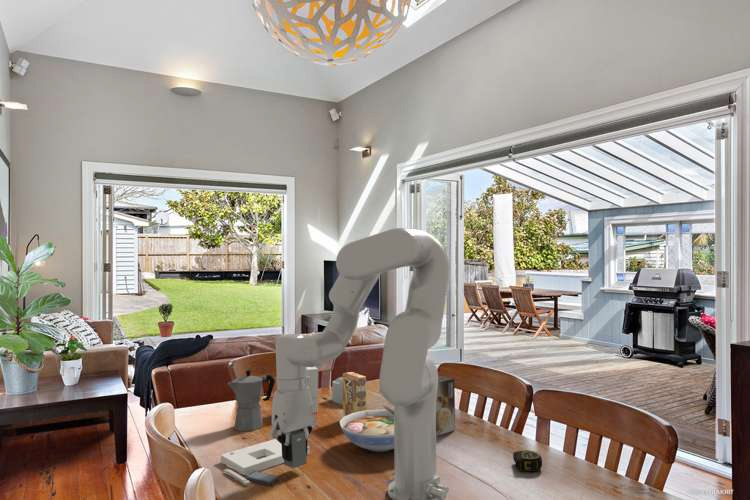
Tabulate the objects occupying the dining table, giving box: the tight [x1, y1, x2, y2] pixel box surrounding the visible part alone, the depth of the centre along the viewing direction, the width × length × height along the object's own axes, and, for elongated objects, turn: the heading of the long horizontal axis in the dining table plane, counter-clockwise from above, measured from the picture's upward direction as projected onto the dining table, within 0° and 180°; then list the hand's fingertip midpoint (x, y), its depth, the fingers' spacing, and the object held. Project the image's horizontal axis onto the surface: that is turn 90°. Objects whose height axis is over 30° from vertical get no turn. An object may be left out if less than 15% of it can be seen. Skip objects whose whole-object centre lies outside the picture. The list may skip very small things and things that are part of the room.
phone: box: [244, 471, 280, 487], centre depth 126 cm, size 8×4×1 cm, turn 64°
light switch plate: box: [220, 438, 311, 476], centre depth 140 cm, size 12×20×2 cm, turn 134°
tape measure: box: [512, 449, 543, 472], centre depth 132 cm, size 7×7×4 cm
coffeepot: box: [227, 369, 276, 432], centre depth 166 cm, size 15×9×18 cm, turn 121°
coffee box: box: [436, 375, 456, 437], centre depth 160 cm, size 9×6×16 cm
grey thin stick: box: [223, 468, 251, 487], centre depth 127 cm, size 11×1×1 cm, turn 44°
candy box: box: [342, 371, 368, 417], centre depth 170 cm, size 9×4×15 cm, turn 33°
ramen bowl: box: [339, 405, 394, 453], centre depth 147 cm, size 25×23×8 cm
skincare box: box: [307, 367, 319, 414], centre depth 182 cm, size 8×7×16 cm
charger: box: [283, 429, 307, 469], centre depth 131 cm, size 4×4×8 cm
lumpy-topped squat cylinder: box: [331, 376, 368, 405], centre depth 194 cm, size 10×13×9 cm
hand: (295, 456), depth 131 cm, fingers closed on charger, 4 cm apart
